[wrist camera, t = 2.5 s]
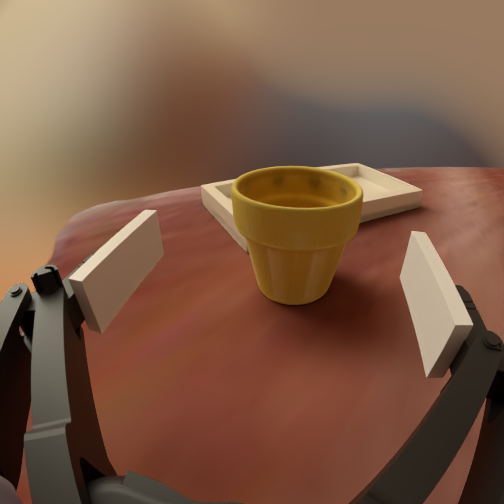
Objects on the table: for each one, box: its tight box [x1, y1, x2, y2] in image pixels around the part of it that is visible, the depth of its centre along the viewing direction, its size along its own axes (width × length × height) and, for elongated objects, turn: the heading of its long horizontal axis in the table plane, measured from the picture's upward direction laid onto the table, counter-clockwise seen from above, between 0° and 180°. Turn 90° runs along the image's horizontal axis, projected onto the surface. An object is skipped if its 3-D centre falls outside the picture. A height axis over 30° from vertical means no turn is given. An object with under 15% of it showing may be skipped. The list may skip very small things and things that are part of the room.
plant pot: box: [231, 166, 363, 305], centre depth 26 cm, size 10×10×10 cm
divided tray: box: [201, 163, 423, 253], centre depth 44 cm, size 31×16×3 cm, turn 115°
